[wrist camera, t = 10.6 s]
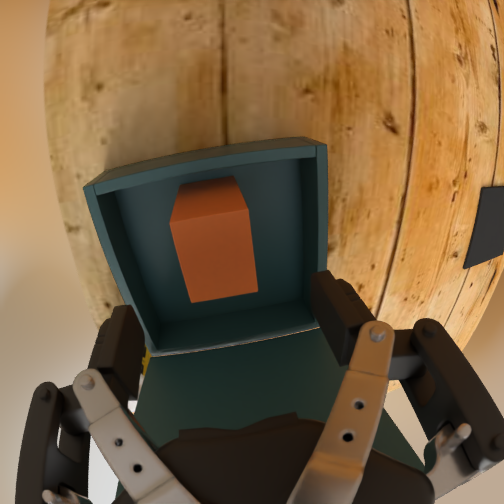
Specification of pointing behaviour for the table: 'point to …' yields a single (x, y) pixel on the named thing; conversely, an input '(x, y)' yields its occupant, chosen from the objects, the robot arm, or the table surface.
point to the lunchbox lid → (251, 390)
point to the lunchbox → (262, 230)
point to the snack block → (214, 239)
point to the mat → (487, 228)
